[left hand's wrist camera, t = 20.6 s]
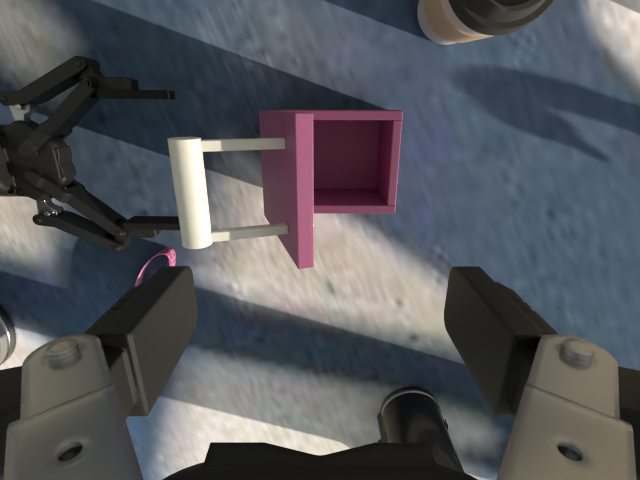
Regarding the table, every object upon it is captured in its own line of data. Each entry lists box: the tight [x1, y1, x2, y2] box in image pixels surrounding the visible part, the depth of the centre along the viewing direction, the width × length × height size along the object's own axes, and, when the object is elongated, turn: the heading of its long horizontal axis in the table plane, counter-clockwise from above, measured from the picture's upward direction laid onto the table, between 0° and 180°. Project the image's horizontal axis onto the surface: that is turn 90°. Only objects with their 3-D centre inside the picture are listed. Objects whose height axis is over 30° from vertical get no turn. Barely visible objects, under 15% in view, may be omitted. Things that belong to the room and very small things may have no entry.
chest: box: [273, 109, 403, 213], centre depth 40 cm, size 13×10×9 cm
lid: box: [168, 110, 314, 269], centre depth 28 cm, size 14×10×9 cm
